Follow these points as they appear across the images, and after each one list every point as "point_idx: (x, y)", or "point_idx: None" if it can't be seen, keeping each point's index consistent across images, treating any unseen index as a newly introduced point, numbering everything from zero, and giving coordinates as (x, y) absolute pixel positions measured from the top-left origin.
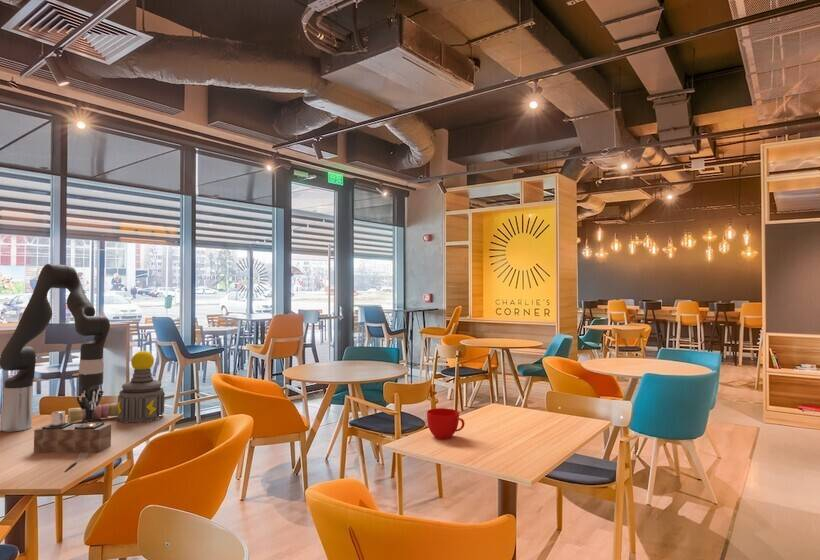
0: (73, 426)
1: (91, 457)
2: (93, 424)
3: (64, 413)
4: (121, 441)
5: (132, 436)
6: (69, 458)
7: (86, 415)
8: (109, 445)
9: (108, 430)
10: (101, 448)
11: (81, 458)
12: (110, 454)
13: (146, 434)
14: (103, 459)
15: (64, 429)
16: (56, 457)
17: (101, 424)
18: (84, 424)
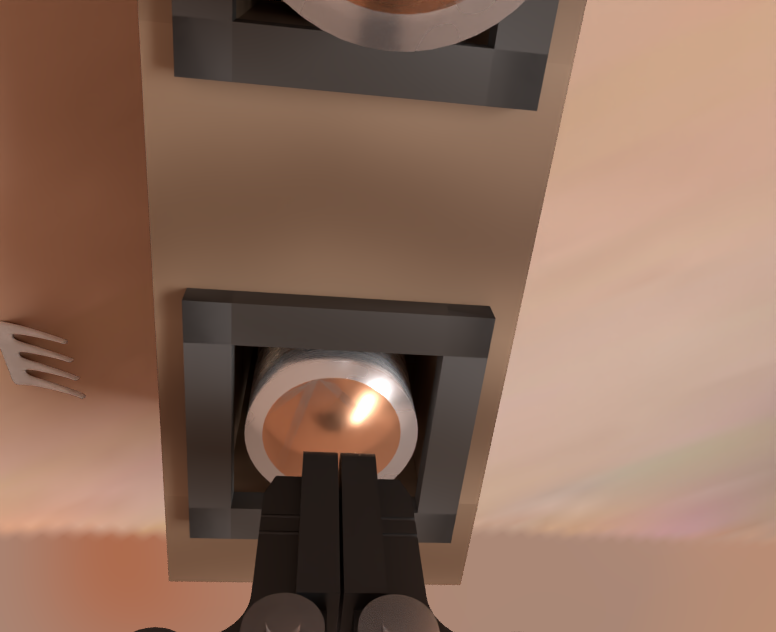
0: (362, 188)
1: (67, 412)
2: None
3: (398, 48)
4: (559, 442)
5: (710, 464)
6: (12, 239)
7: (259, 539)
8: None
9: None
10: None
11: (14, 353)
12: (162, 510)
13: (741, 537)
14: (24, 516)
15: (153, 138)
16: (28, 83)
17: None
18: (377, 351)
